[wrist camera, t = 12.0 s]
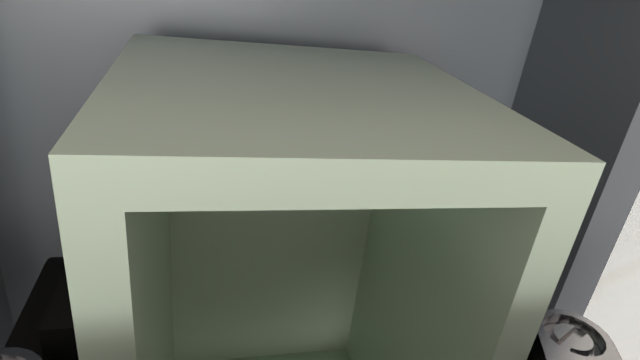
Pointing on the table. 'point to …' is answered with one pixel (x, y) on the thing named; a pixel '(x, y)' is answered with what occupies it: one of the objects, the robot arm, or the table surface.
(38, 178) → the big crate
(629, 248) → the table surface
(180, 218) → the small crate
